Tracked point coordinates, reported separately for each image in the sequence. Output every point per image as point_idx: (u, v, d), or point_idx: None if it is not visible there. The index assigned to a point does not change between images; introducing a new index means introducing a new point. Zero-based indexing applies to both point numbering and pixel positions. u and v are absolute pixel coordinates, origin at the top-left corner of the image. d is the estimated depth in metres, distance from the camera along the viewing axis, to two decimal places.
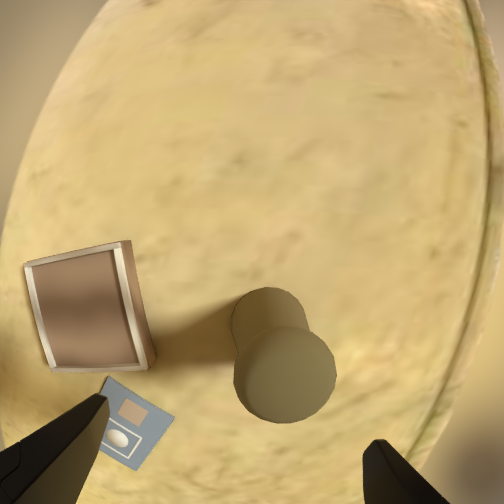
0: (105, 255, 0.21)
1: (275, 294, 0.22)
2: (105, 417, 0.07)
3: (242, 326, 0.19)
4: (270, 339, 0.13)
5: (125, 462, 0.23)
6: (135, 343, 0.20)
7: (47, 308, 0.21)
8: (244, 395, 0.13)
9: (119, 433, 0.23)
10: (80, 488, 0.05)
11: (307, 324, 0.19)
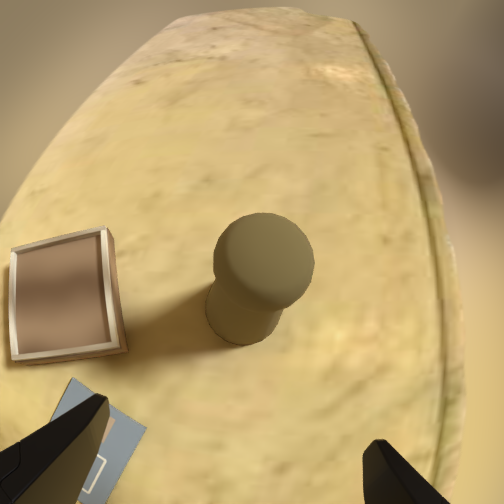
0: (91, 240, 0.22)
1: None
2: (105, 417, 0.07)
3: None
4: (244, 216, 0.16)
5: (85, 500, 0.14)
6: (109, 316, 0.19)
7: (23, 292, 0.19)
8: (225, 259, 0.14)
9: None
10: (80, 488, 0.05)
11: None
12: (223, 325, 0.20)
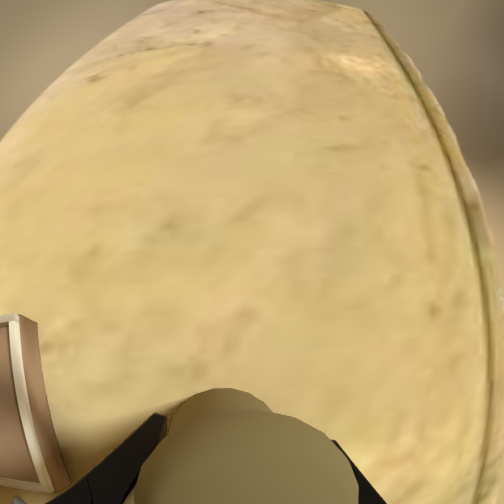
0: (2, 331, 0.12)
1: (227, 393, 0.13)
2: (164, 436, 0.07)
3: None
4: (196, 429, 0.05)
5: None
6: (32, 453, 0.09)
7: None
8: None
9: None
10: None
11: None
12: None
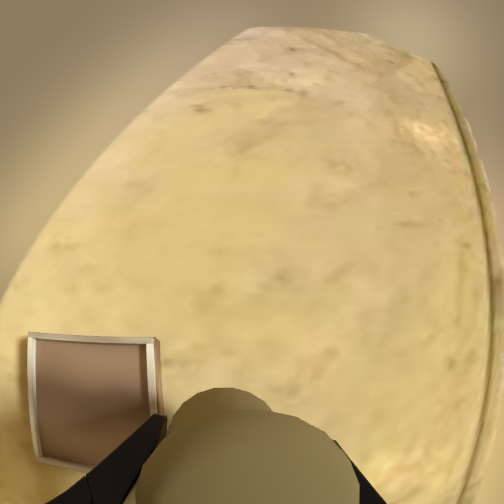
0: (132, 349, 0.18)
1: (228, 392, 0.13)
2: (164, 436, 0.07)
3: None
4: (198, 428, 0.05)
5: None
6: None
7: (46, 390, 0.15)
8: None
9: None
10: None
11: None
12: None
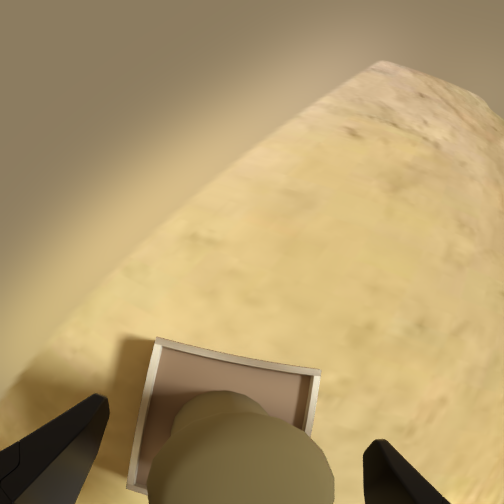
0: (293, 379, 0.17)
1: (225, 395, 0.14)
2: (105, 417, 0.07)
3: None
4: (199, 427, 0.06)
5: None
6: None
7: (164, 411, 0.15)
8: None
9: None
10: (80, 488, 0.05)
11: None
12: None
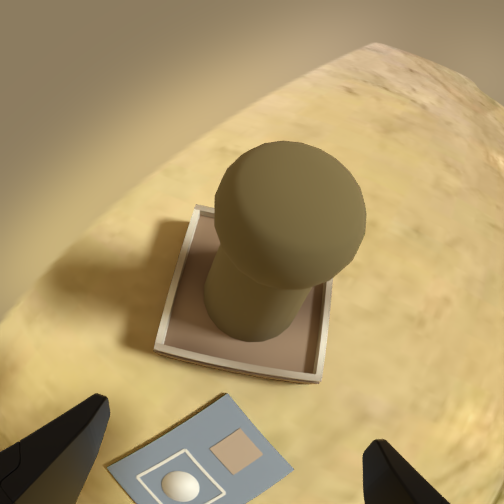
0: None
1: None
2: (105, 417, 0.07)
3: None
4: None
5: None
6: (321, 344, 0.17)
7: (199, 267, 0.19)
8: (234, 198, 0.08)
9: (191, 479, 0.14)
10: (80, 488, 0.05)
11: None
12: (227, 314, 0.15)
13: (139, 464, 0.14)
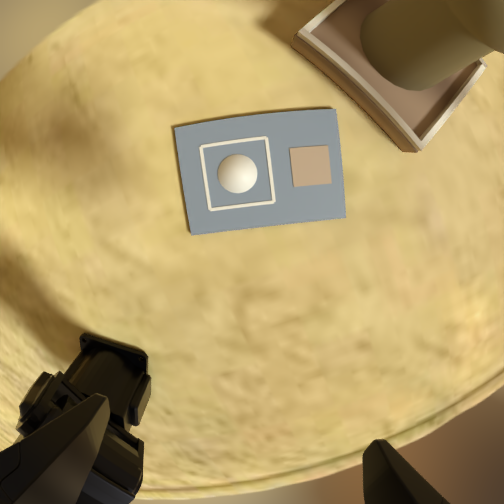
0: None
1: None
2: (105, 417, 0.07)
3: None
4: None
5: (195, 212, 0.19)
6: (438, 123, 0.14)
7: (369, 2, 0.12)
8: None
9: (252, 171, 0.18)
10: (80, 488, 0.05)
11: None
12: (387, 36, 0.11)
13: (211, 134, 0.17)
